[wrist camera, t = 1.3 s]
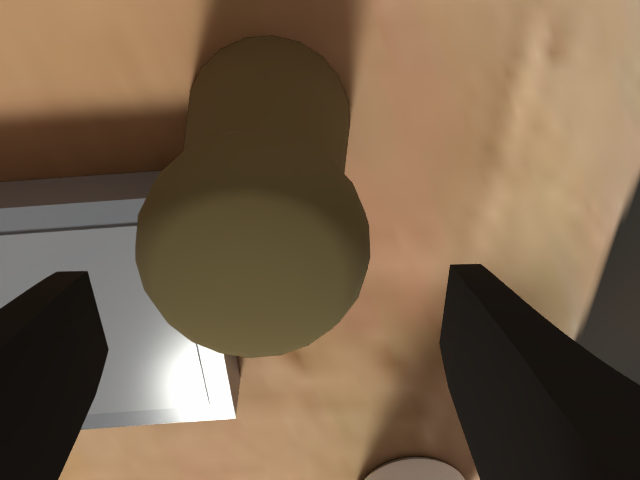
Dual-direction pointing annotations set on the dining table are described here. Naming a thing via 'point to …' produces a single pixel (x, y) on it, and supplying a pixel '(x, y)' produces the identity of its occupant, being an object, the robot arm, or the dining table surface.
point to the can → (415, 470)
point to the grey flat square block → (112, 297)
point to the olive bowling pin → (257, 206)
